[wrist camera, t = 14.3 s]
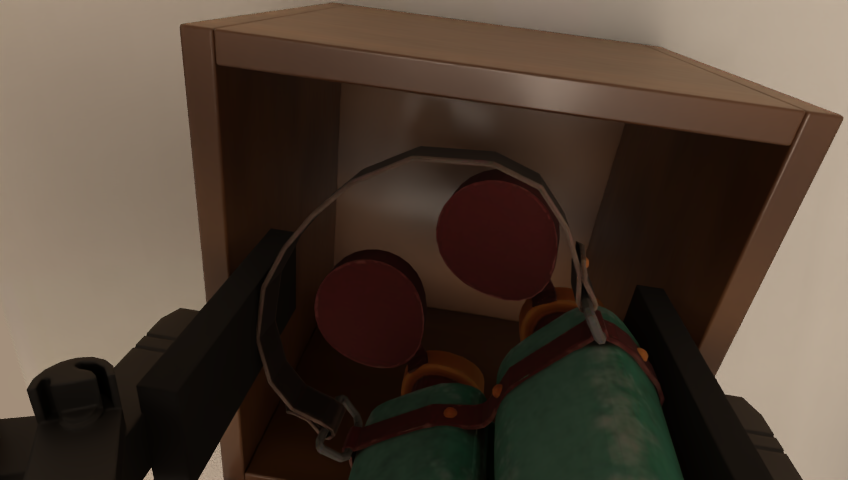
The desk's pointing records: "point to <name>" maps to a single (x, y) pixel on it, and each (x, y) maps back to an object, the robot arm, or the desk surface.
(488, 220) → the binoculars
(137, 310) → the desk surface
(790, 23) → the desk surface
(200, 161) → the chest
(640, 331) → the robot arm
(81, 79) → the desk surface
